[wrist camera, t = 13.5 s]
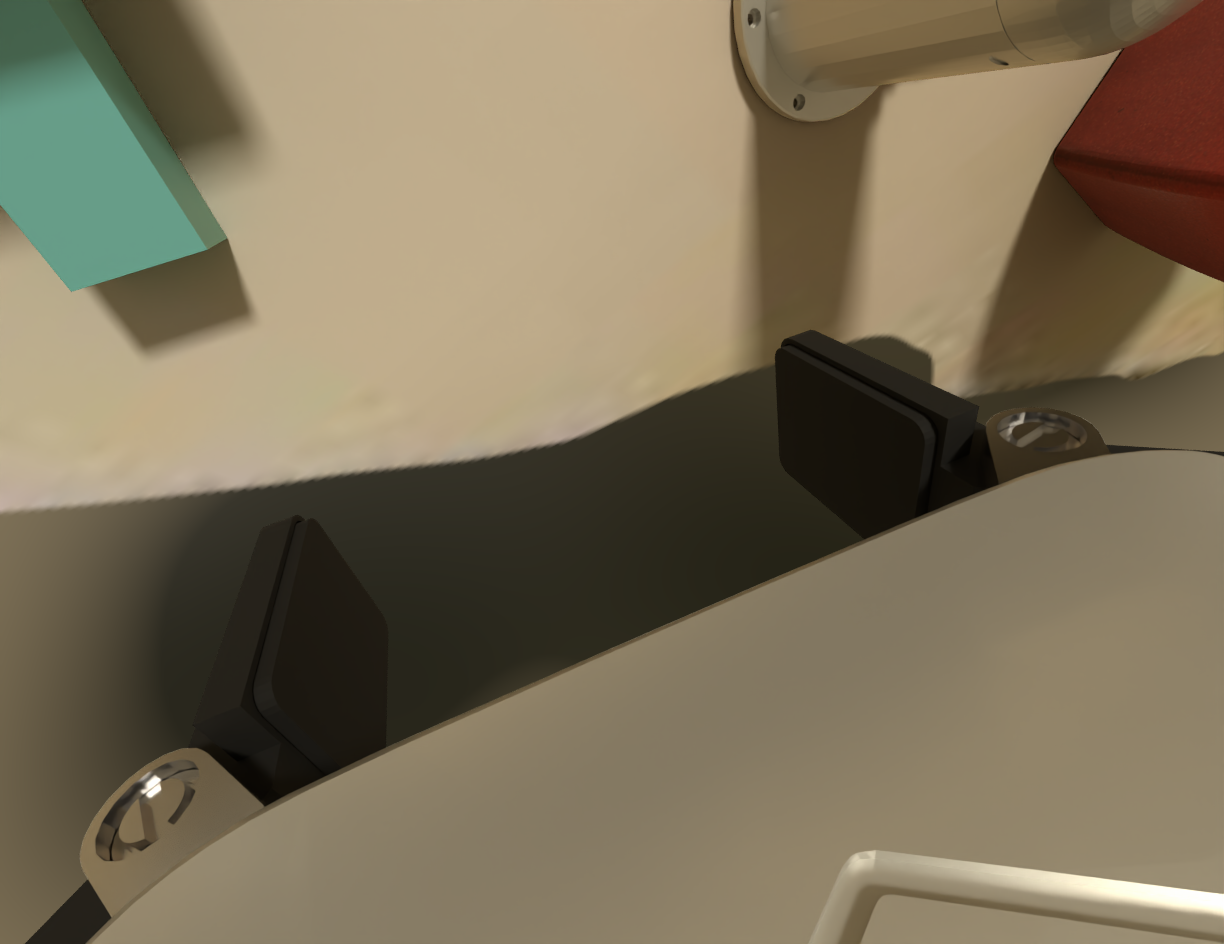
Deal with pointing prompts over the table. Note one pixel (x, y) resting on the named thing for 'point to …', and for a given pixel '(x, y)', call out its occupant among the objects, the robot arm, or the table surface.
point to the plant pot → (1159, 142)
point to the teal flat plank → (87, 153)
